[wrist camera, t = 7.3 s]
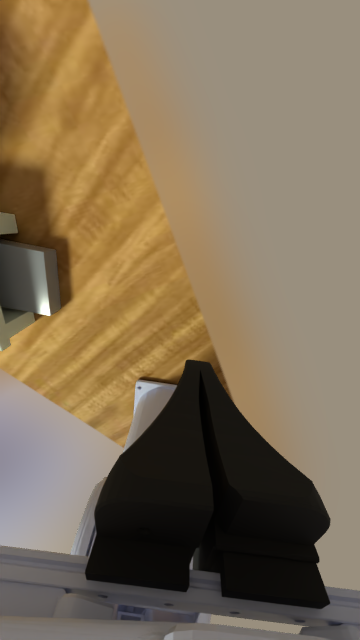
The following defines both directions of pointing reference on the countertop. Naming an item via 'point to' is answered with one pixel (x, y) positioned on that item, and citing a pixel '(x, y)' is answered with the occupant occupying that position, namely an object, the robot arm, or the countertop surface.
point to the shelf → (6, 320)
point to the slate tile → (29, 278)
